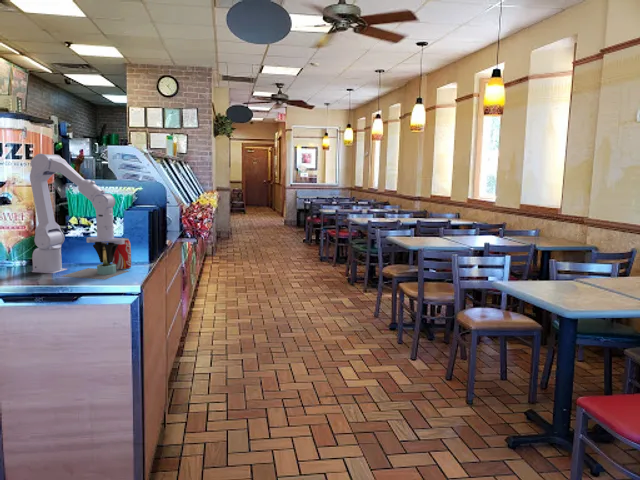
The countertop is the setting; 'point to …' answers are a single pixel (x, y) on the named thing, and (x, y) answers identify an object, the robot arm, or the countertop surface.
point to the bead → (106, 269)
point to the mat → (92, 274)
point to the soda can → (123, 255)
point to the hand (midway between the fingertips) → (106, 262)
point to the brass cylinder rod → (104, 257)
